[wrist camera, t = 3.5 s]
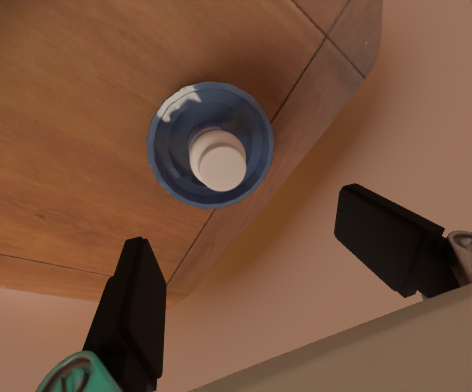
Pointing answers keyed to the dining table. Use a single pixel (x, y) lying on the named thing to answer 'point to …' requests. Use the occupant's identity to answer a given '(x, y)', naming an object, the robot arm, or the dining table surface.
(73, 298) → the dining table surface
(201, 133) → the pill bottle
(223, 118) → the bowl
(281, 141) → the dining table surface
